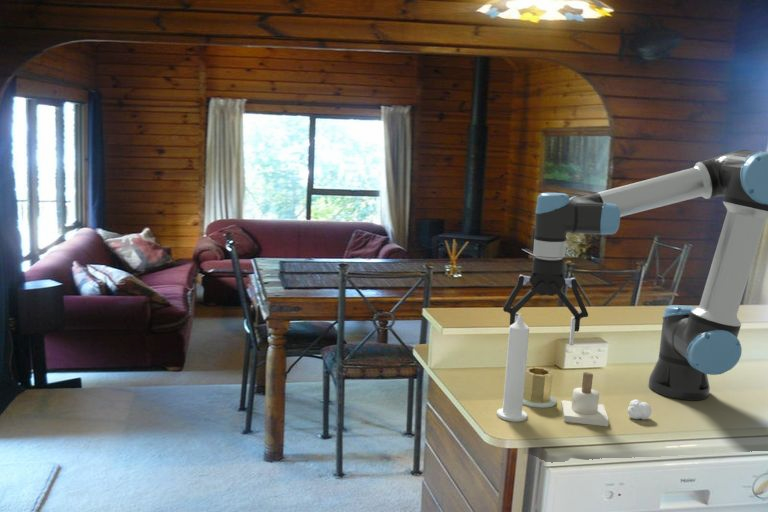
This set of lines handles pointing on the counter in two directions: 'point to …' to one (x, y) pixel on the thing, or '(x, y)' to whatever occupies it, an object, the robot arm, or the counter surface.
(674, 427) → the counter surface
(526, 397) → the brass hex nut
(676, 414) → the counter surface
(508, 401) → the candle
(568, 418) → the stand
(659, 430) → the counter surface
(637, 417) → the microfossil shell
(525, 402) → the coaster
